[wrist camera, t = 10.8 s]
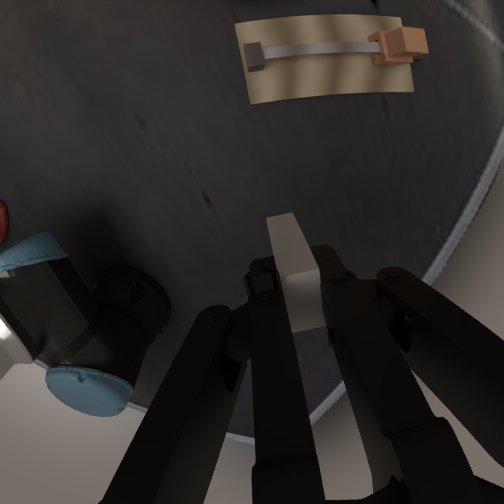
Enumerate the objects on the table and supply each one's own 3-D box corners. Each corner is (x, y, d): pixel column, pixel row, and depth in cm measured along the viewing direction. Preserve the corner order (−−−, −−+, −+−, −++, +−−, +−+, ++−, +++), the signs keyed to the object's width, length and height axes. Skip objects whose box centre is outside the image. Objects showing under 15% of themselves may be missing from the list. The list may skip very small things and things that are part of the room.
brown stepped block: (373, 64, 33) (403, 55, 25) (367, 36, 31) (396, 21, 23) (399, 65, 33) (433, 58, 25) (393, 37, 31) (426, 25, 23)
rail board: (250, 104, 39) (250, 103, 33) (235, 26, 34) (232, 12, 28) (410, 92, 37) (432, 91, 31) (396, 19, 32) (416, 9, 26)
